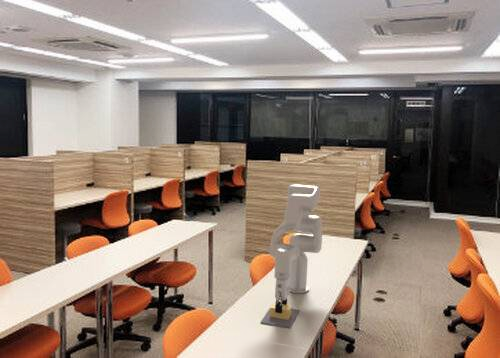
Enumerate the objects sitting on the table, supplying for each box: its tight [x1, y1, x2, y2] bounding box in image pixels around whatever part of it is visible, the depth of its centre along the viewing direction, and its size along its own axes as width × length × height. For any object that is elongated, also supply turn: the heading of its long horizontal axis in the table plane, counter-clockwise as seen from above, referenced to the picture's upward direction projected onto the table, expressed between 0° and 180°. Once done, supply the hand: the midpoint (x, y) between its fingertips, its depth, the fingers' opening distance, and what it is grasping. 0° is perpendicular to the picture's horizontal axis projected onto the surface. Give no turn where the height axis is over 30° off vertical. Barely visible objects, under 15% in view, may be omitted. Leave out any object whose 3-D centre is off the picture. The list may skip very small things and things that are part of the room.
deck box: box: [269, 302, 293, 320], centre depth 216 cm, size 9×6×4 cm, turn 72°
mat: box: [260, 308, 300, 329], centre depth 216 cm, size 20×14×1 cm
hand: (281, 308), depth 216 cm, fingers open, 9 cm apart
